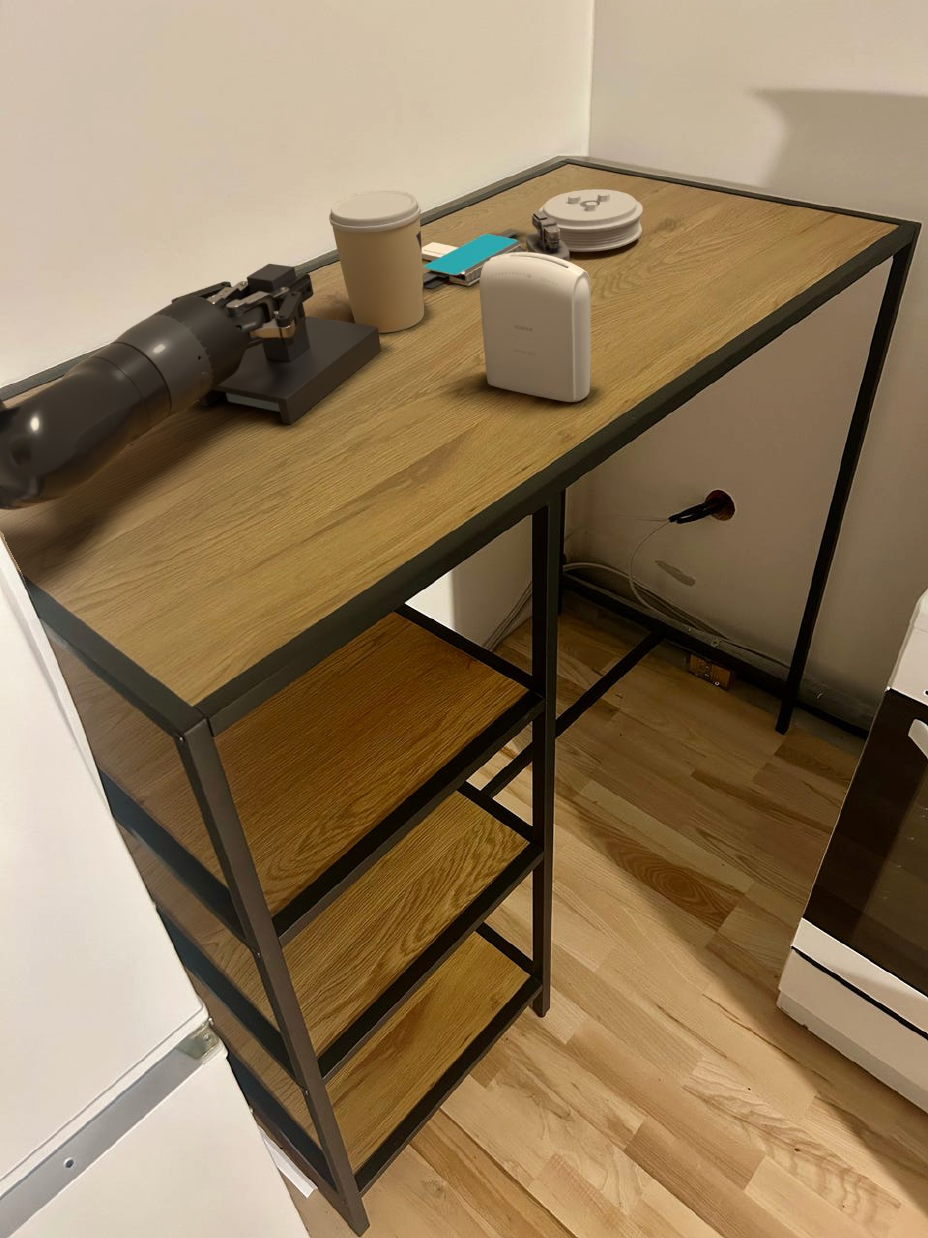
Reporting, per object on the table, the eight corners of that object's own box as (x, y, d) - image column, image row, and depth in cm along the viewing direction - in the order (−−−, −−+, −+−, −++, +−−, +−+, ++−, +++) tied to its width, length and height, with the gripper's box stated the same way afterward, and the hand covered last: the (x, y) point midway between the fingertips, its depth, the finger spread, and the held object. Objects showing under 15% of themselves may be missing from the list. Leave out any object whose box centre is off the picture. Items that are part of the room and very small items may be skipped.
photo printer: (479, 387, 88) (469, 256, 79) (502, 368, 90) (495, 239, 82) (576, 409, 83) (576, 273, 75) (597, 388, 85) (600, 254, 77)
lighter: (576, 327, 96) (576, 228, 89) (545, 333, 95) (542, 234, 89) (551, 298, 102) (550, 203, 95) (522, 303, 101) (518, 209, 95)
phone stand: (473, 227, 121) (473, 213, 120) (548, 241, 115) (548, 227, 113) (369, 280, 110) (367, 266, 109) (445, 299, 104) (444, 285, 103)
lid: (657, 228, 115) (659, 185, 112) (615, 265, 107) (617, 220, 104) (565, 218, 120) (565, 177, 117) (520, 252, 113) (518, 209, 109)
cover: (291, 424, 85) (265, 313, 78) (199, 404, 89) (167, 298, 82) (381, 350, 95) (366, 246, 88) (295, 336, 100) (274, 236, 93)
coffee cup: (448, 315, 100) (438, 200, 92) (379, 344, 96) (361, 226, 88) (398, 293, 106) (384, 183, 98) (331, 319, 102) (310, 206, 94)
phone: (281, 412, 87) (279, 403, 86) (227, 401, 90) (225, 392, 89) (355, 353, 95) (353, 344, 95) (304, 344, 98) (302, 335, 97)
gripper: (227, 327, 72) (347, 248, 83) (98, 305, 78) (226, 234, 89) (250, 412, 77) (360, 327, 88) (126, 386, 83) (245, 309, 94)
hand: (292, 281), depth 88 cm, fingers closed on cover, 3 cm apart
